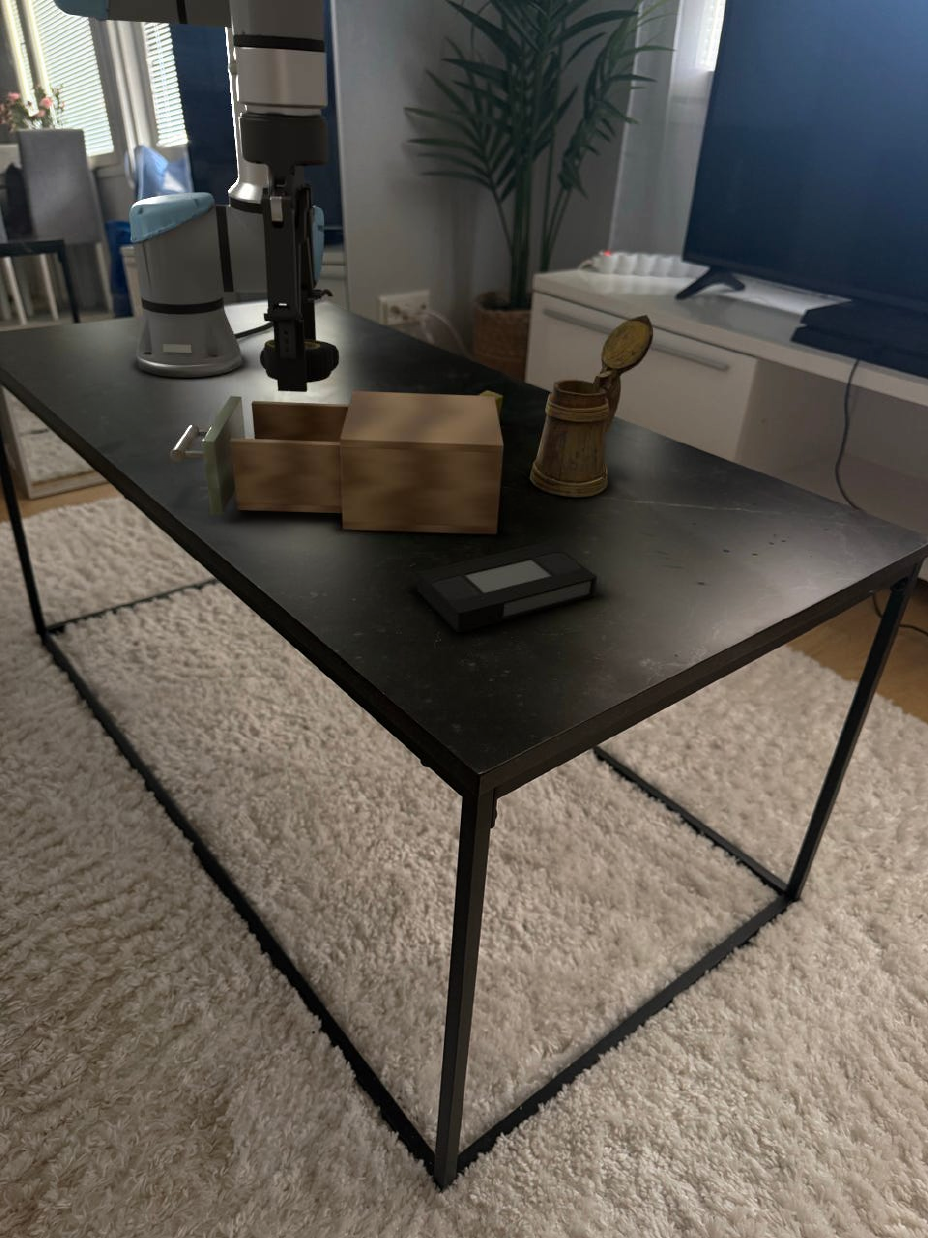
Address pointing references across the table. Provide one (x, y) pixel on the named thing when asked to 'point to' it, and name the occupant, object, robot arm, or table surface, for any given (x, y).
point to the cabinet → (421, 463)
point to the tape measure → (318, 359)
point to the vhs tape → (505, 585)
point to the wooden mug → (587, 417)
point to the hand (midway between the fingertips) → (298, 377)
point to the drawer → (272, 457)
